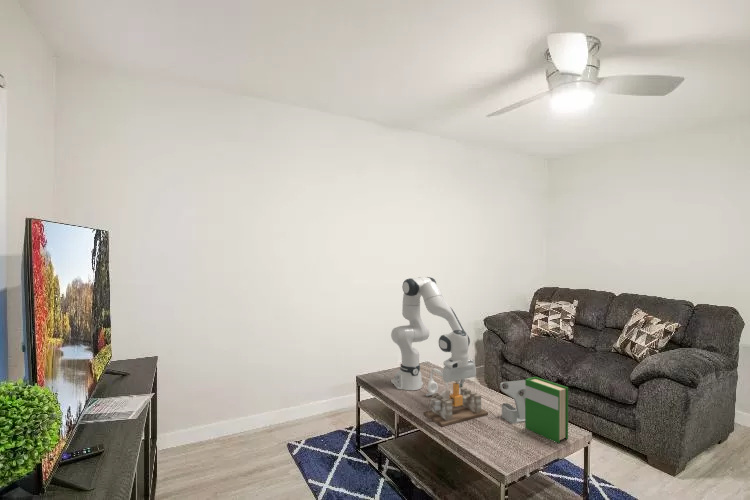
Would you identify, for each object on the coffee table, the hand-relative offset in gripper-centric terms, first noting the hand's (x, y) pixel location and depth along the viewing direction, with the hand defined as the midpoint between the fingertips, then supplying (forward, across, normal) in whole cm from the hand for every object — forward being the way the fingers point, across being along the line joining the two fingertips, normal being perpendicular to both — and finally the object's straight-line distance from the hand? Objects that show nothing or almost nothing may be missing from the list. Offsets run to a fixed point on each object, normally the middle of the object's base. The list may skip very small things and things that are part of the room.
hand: (459, 387), depth 207 cm
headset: (+14, 0, -19) cm, 24 cm away
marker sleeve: (+8, +3, 0) cm, 9 cm away
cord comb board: (+14, +3, 0) cm, 14 cm away
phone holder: (+14, -24, +18) cm, 34 cm away
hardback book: (+14, -22, +36) cm, 45 cm away
